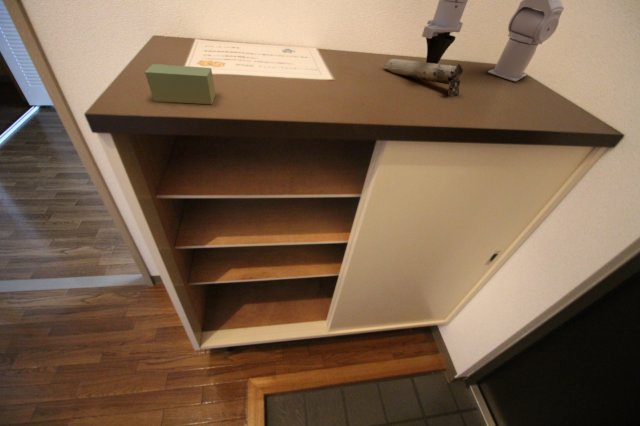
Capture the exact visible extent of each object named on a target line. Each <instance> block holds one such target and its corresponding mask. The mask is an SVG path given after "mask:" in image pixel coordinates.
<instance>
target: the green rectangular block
mask: <svg viewBox="0 0 640 426" xmlns="http://www.w3.org/2000/svg"><path fill="white" fill-rule="evenodd" d="M144 74H145V78H146V80H147V81H146V82H147V84H148V87H149V90H150V93H151V97H152V99H153V102H161V103H162V102H164V103H179V104H180V103H181V104H201V105H202V104H203V105H212V104H213V103H214V100H215V98H216V89H215V83H214V76H213V71H212V68H211V67H200V66H189V65H173V64H161V63H160V64H159V63H152V64H151V65H150V66H149V67H148V68H147V69H146V70H145V71H144Z"/></svg>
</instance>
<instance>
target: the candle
mask: <svg viewBox="0 0 640 426" xmlns="http://www.w3.org/2000/svg"><path fill="white" fill-rule="evenodd" d="M382 68H383V69H385V70H387V71H389V72H391V73H393V74H396V75H402V76H407V77H408V78H410V79H415V80H420V81H425V82H432V83H439V84H445V85H449V86H448V91H447V92H448V93H447V95H448V96H450V97H454V96H455V97H456V96H458V95H459V93H460V85H461V80H460V77H461V74H463V72H464V69H463V68H462V64H459V63H458V64H457V65H450V64H443V63H438V64H435V63H426V61H418V60H410V59H399V58H392V59H391V58H390V59H389V60H387V61H386V63H385V64H383V65H382Z"/></svg>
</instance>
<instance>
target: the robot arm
mask: <svg viewBox="0 0 640 426" xmlns="http://www.w3.org/2000/svg"><path fill="white" fill-rule="evenodd" d="M467 3H468V0H438V3H437V5H436V9H435V12H434V15H433V19H430V20H427V25H424V28H423V31H422V34H421V37H422V38H425V39H426V58H425V59H426V60H425V62H426V63H435V64H439V63H440V62H441V61H440V60H441V59H442V58H443V56H444V54H445V53H446V51H447V50H448V49H449V47H450V46H451V45H452V44H453V43H454V42H455V40H456V36H455V35H452V33H461V30H462V27H463V24H464V22H462V21H461V19H462V17H463V14H464V12H465V9H466V6H467ZM564 9H565V7H564V4H563V2H562V1H561V0H521V1H520V3H519V5H518V7H517V9H516V11H515V12H514V14H513V15H512V16H511V18H510V20H509V22H508V26H507V31H508V34H507V37H508V40H507V42H506V44H505V46H504V48H503V50H502V52H501V54H500V56H499V58H498V60H497V62H496V63H495V66H494V68H491V69H490V70H488V71H487V73H488V74H490V75H493V76H497V77H499V78H502V79H505V80H508V81H511V82H514V83H517V82H518V81H519V80H521V79H523V78H525V77H526V76H527V73H525V71H526V69H527V68H528V66H529V64H530V62H531V60H532V59H533V57H534V56H535V54H536V51H537V48H538V46H539V45H542V44H543V43H544V42H546V41H547V40H548V39H550V38H551V37H552V36H553V34H554V33H555V32H556V30H557V29H558V26H559V22H560V18H561V15H562V13H563V11H564Z"/></svg>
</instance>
